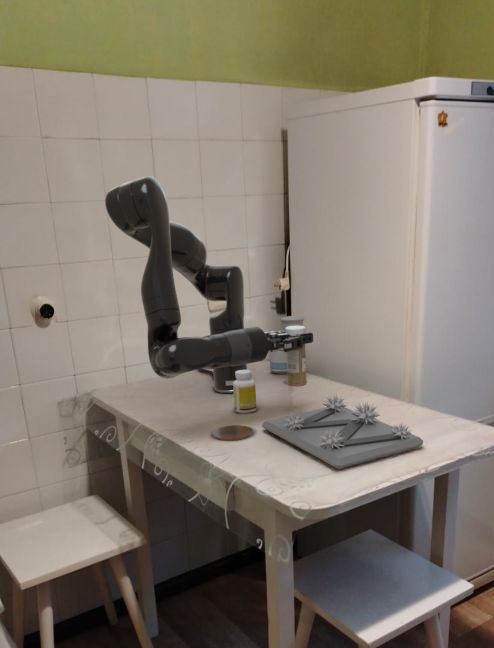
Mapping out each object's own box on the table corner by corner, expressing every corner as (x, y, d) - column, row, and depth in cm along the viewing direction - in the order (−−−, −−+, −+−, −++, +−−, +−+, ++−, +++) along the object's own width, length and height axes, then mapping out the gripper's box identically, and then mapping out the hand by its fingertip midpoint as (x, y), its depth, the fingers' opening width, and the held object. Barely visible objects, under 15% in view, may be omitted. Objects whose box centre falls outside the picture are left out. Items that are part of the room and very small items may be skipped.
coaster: (207, 431, 144) (207, 429, 144) (244, 424, 147) (244, 422, 147) (220, 443, 136) (220, 441, 136) (259, 435, 140) (259, 433, 140)
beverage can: (268, 374, 191) (266, 334, 187) (272, 369, 197) (270, 330, 193) (291, 374, 190) (290, 334, 186) (294, 369, 196) (293, 329, 192)
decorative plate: (260, 431, 143) (258, 400, 140) (339, 413, 152) (339, 384, 150) (336, 473, 118) (336, 436, 115) (426, 449, 127) (427, 414, 125)
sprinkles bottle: (310, 384, 148) (309, 326, 144) (294, 388, 146) (292, 329, 141) (299, 381, 152) (297, 324, 147) (283, 384, 150) (281, 326, 145)
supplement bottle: (261, 409, 158) (259, 370, 155) (245, 414, 155) (243, 375, 151) (245, 405, 162) (243, 367, 158) (230, 411, 158) (227, 372, 155)
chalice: (307, 384, 178) (305, 319, 172) (282, 385, 178) (279, 320, 172) (306, 378, 185) (304, 315, 179) (282, 379, 185) (279, 316, 179)
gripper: (258, 333, 131) (324, 322, 140) (223, 325, 142) (286, 316, 151) (260, 369, 134) (325, 356, 142) (226, 358, 145) (287, 347, 154)
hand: (304, 335), depth 147 cm, fingers closed on sprinkles bottle, 4 cm apart
